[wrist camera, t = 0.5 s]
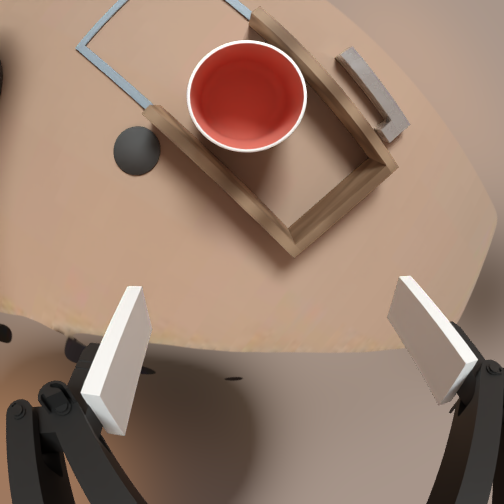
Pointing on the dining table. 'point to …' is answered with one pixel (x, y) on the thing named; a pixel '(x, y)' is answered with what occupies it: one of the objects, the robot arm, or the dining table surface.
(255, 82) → the cup
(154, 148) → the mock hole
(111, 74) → the pale blue bent rod
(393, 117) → the hook bar
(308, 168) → the dining table surface
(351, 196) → the cubby
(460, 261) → the dining table surface
